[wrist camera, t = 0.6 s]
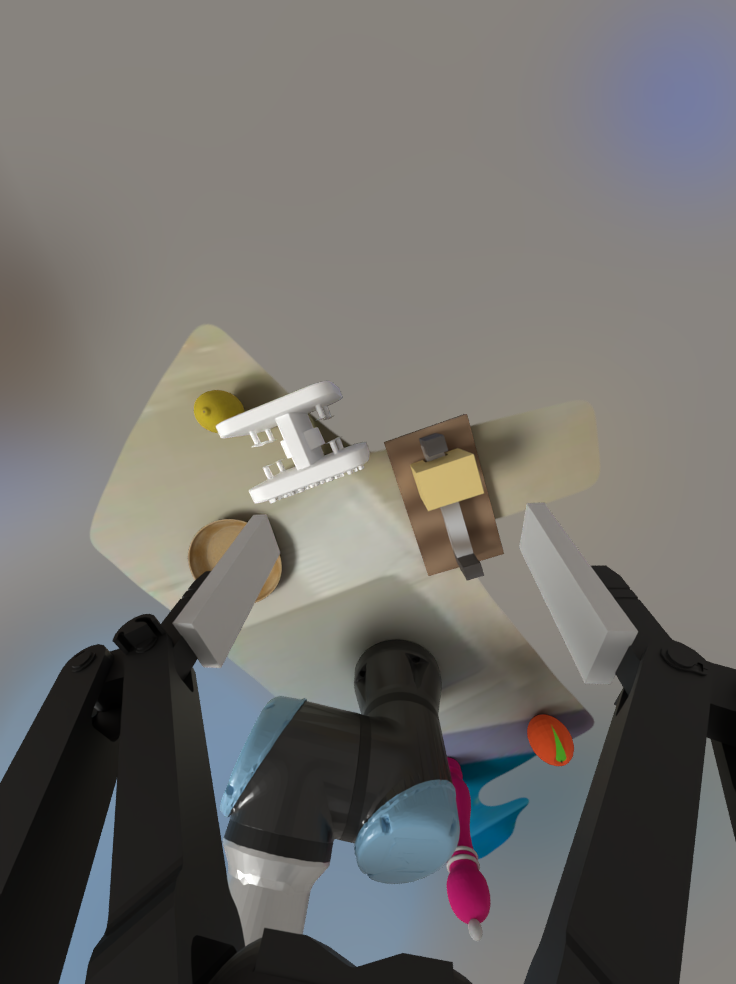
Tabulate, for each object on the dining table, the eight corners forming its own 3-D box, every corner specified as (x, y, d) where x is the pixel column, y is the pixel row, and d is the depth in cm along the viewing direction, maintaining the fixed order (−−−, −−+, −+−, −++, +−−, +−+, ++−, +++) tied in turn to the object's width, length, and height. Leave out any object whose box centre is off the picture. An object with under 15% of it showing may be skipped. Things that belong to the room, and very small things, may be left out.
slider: (466, 481, 43) (484, 493, 36) (420, 496, 44) (428, 511, 37) (457, 448, 42) (473, 454, 35) (409, 464, 43) (416, 473, 36)
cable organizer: (345, 384, 42) (334, 373, 31) (372, 455, 45) (370, 467, 33) (250, 423, 44) (207, 425, 33) (280, 489, 46) (249, 512, 35)
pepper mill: (450, 786, 60) (485, 963, 41) (419, 773, 59) (439, 945, 40) (470, 763, 58) (516, 935, 39) (438, 749, 58) (469, 916, 38)
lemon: (219, 387, 43) (185, 380, 35) (257, 400, 43) (231, 396, 35) (212, 425, 44) (177, 426, 36) (248, 437, 44) (221, 441, 37)
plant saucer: (302, 544, 49) (298, 551, 46) (260, 610, 52) (254, 620, 49) (221, 496, 47) (212, 501, 44) (183, 567, 50) (172, 575, 48)
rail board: (500, 549, 48) (520, 571, 41) (427, 571, 49) (435, 596, 42) (463, 414, 43) (480, 413, 36) (383, 442, 44) (385, 446, 37)
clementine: (517, 703, 55) (538, 744, 48) (556, 697, 54) (583, 738, 47) (522, 736, 56) (542, 780, 50) (559, 731, 56) (585, 775, 49)
